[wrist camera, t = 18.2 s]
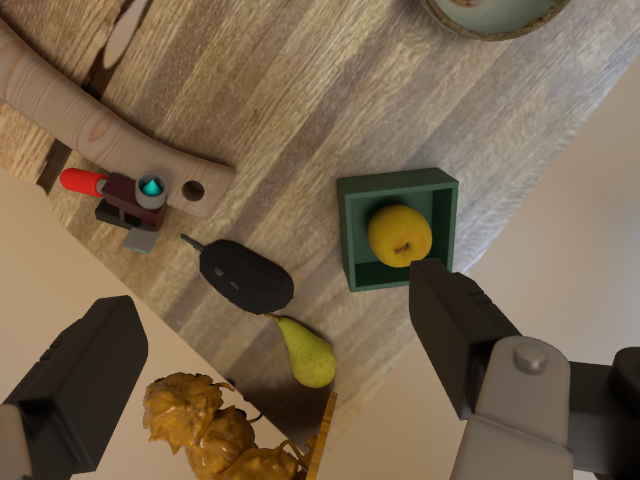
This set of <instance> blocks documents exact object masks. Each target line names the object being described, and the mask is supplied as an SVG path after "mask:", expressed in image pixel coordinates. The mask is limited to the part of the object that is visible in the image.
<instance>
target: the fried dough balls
mask: <svg viewBox="0 0 640 480" xmlns="http://www.w3.org/2000/svg"><path fill="white" fill-rule="evenodd" d="M195 375H196V376H195ZM195 375H193V374H189V373H188V374H185V373H183V372H179V373H175V374H172V375H169V376H167V377H166V378H164V377H162V379H161V378H159V379H157V380H155V381H154V382H153V383H151V384H150V385H149V386H147V388H146V392H145V396H144V400H143V406H144V409H145V412H144V416H143V427H144V428H145V429H148V428H149V429H150V432H151V436H150V438H149V440H148V441H149V442H151V441H157V440H163V441H165V442H168V444H169V445H170V447H171V449H172V453H173V455H175V454H176V453H177V452H178V450H179V448H180V447H185V452H186V455H187V459H188V463H189V465H190V466H191V468H192V470H193V472H194V474H195V476H196V478H197V480H315V479H316V476H317V472H318V468H319V464H320V461H321V457H322V453H323V449H324V446H325V442H326V438H327V434H328V430H329V427H330V423H331V419H332V415H333V411H334V407H335V403H336V399H337V395H338V393H335V392H332V391H331V393H330V396H329V400H328V403H327V407H326V410H325V413H324V417H323V420H322V424H321V427H320V431H319V434H318V436H311V437H309V438H308V439H307V441H306V443H305V446H308V447H309V448H310V451H309V453H307V454H305V455H304V456H302V455H301V454H300V452H299V451H298V449H297V448H296V446H295V445H294V443H293V442H292V441H290V440H285V441H283V442H282V443H281V444H280V446H278V447H276V448H275V449H268V448H262V449H259V448H258V446H257V445H256V444H255V443H254V439H255V434H254V430H253V428H252V426H251V425H250V423H253V422H255V421H257V420H259V419H260V418H261V417H262V416H263V415H262V414H261V413H260V415H259V416H258V417H257V418H254V419H252V420H249V421H247V420H246V417H247V414H246V412H245V411H244V410H241V409H238V408H235V406H234V405H233V406H230V407H228V408H226V409H223V410H221V409H219V408H220V407H221V406H222V404H223V402H224V401H223V400H222V399H221V396H222V391H220V390H219V387H226V388H228V389H229V390H231V391H235V390H234V389H233V388H232V387H231V386H230V385H229V384H227V383H224V382H223V383H216V384H212V382H213V379H212V378H211V377H210V376H208V375H202V374H200V373H196V374H195ZM243 399H244V401H246V402H248V401H247V400H246V399H245V398H244V397H243ZM286 444H289V445H290V446H291V447H292V449H293V451H294V452H295V454H296V455H297V457H298V458H299V459H298V460H297V459H296V458H295V457H293V456H292V455H291V454H290V452H289V453H286V451H285V450H284V451H283V447H284V446H285V445H286ZM282 452H283V453H282ZM298 464H299V465H300V466H301V467H302V468H301V470H300V471H299V472H297V471H298Z"/></svg>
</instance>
